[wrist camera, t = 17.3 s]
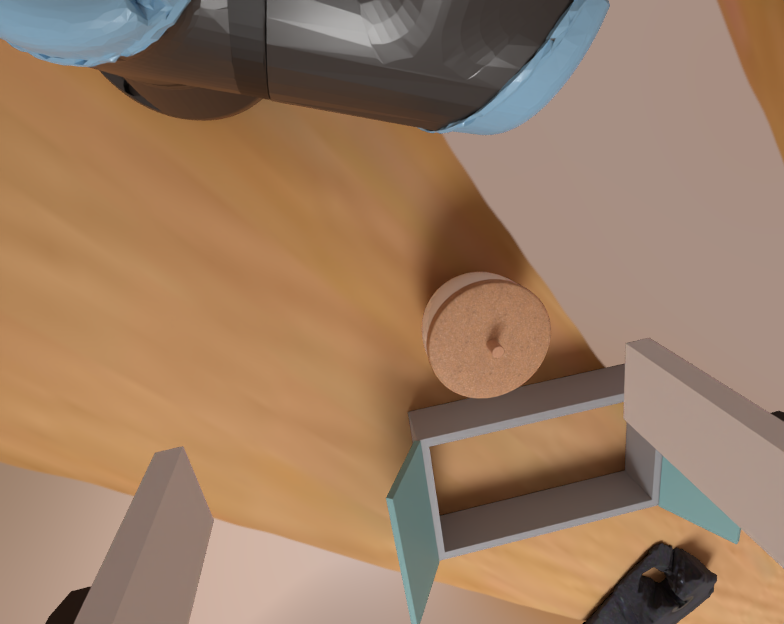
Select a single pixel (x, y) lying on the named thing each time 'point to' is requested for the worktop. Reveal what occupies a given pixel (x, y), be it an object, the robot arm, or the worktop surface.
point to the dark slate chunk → (658, 590)
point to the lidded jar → (484, 334)
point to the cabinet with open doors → (536, 510)
